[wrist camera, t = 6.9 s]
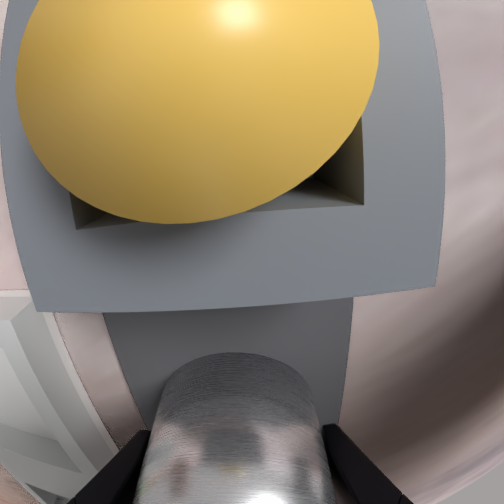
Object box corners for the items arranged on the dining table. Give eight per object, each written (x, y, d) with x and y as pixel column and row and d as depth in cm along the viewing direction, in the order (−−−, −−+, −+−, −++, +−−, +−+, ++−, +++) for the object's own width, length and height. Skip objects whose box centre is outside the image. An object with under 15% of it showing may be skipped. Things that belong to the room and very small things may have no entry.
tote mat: (350, 290, 8) (353, 295, 8) (329, 454, 11) (331, 459, 11) (106, 305, 8) (102, 310, 8) (167, 461, 11) (166, 466, 11)
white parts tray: (45, 289, 8) (10, 320, 6) (178, 529, 15) (175, 551, 13) (-69, 290, 8) (-95, 308, 6) (75, 508, 15) (69, 527, 13)
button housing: (334, -3, 6) (394, -87, 2) (353, 219, 8) (435, 286, 4) (104, 21, 6) (18, -37, 2) (121, 237, 8) (36, 312, 4)
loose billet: (316, 344, 9) (373, 543, 3) (309, 444, 10) (333, 581, 5) (145, 353, 9) (77, 535, 3) (180, 449, 10) (160, 582, 5)
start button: (292, 23, 5) (344, -96, 1) (305, 169, 6) (390, 210, 2) (139, 40, 5) (33, -43, 1) (149, 183, 6) (32, 241, 2)
